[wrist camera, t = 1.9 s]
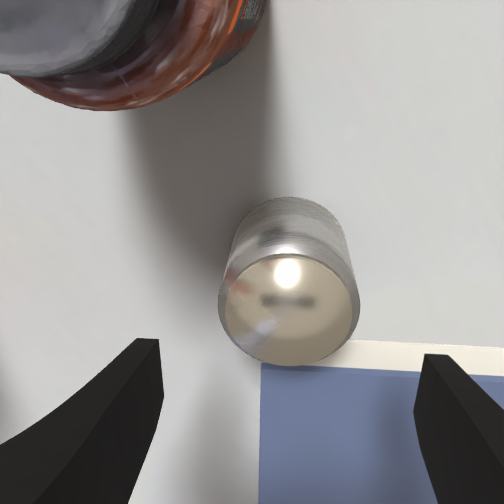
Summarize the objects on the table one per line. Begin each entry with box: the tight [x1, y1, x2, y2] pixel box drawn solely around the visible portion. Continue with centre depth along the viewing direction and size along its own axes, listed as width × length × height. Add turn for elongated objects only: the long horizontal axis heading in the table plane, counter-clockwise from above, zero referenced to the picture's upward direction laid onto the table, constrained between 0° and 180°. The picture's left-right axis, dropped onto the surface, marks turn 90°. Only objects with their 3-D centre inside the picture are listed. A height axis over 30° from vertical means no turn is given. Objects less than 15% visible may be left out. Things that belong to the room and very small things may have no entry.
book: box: [258, 340, 504, 504], centre depth 23 cm, size 10×14×3 cm
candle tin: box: [218, 197, 360, 366], centre depth 18 cm, size 5×5×5 cm
